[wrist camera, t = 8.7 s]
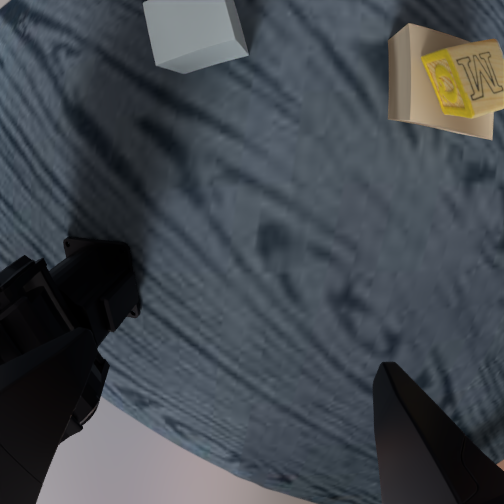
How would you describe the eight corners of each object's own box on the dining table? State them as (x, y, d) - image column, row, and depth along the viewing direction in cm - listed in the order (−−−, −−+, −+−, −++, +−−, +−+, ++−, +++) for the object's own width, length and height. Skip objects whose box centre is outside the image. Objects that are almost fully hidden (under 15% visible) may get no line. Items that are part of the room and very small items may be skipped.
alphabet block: (487, 102, 10) (522, 104, 7) (442, 117, 11) (474, 120, 8) (464, 45, 9) (497, 36, 6) (417, 57, 10) (445, 45, 7)
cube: (184, 74, 16) (155, 65, 12) (171, 21, 14) (142, 3, 11) (249, 55, 15) (235, 39, 11) (234, 0, 13) (217, -25, 10)
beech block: (387, 119, 15) (409, 120, 12) (387, 40, 13) (408, 23, 9) (458, 133, 14) (492, 140, 11) (459, 59, 12) (491, 50, 9)
